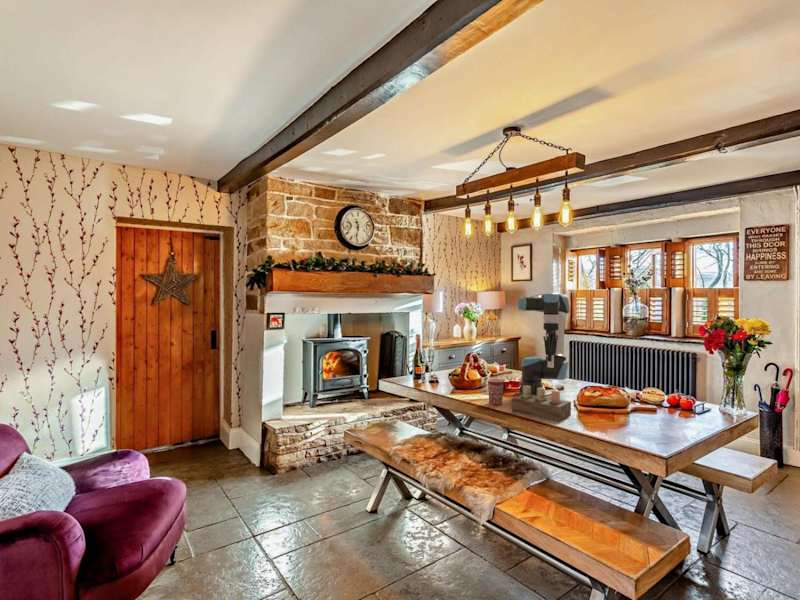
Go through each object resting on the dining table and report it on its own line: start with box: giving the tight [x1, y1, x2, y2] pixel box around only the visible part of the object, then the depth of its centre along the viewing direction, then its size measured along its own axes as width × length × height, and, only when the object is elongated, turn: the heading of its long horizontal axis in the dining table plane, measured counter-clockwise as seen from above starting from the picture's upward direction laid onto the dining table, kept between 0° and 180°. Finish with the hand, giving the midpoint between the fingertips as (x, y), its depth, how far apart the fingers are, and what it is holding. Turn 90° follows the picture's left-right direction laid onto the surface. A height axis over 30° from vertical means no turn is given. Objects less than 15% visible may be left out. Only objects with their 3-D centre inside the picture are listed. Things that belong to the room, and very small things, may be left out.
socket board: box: [511, 394, 572, 422], centre depth 232 cm, size 14×26×7 cm, turn 48°
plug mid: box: [537, 387, 546, 402], centre depth 232 cm, size 4×4×8 cm
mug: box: [487, 377, 507, 406], centre depth 252 cm, size 13×9×14 cm
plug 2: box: [551, 389, 561, 404], centre depth 227 cm, size 4×4×8 cm
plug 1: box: [523, 386, 531, 399], centre depth 237 cm, size 4×4×8 cm
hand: (550, 367), depth 234 cm, fingers closed
